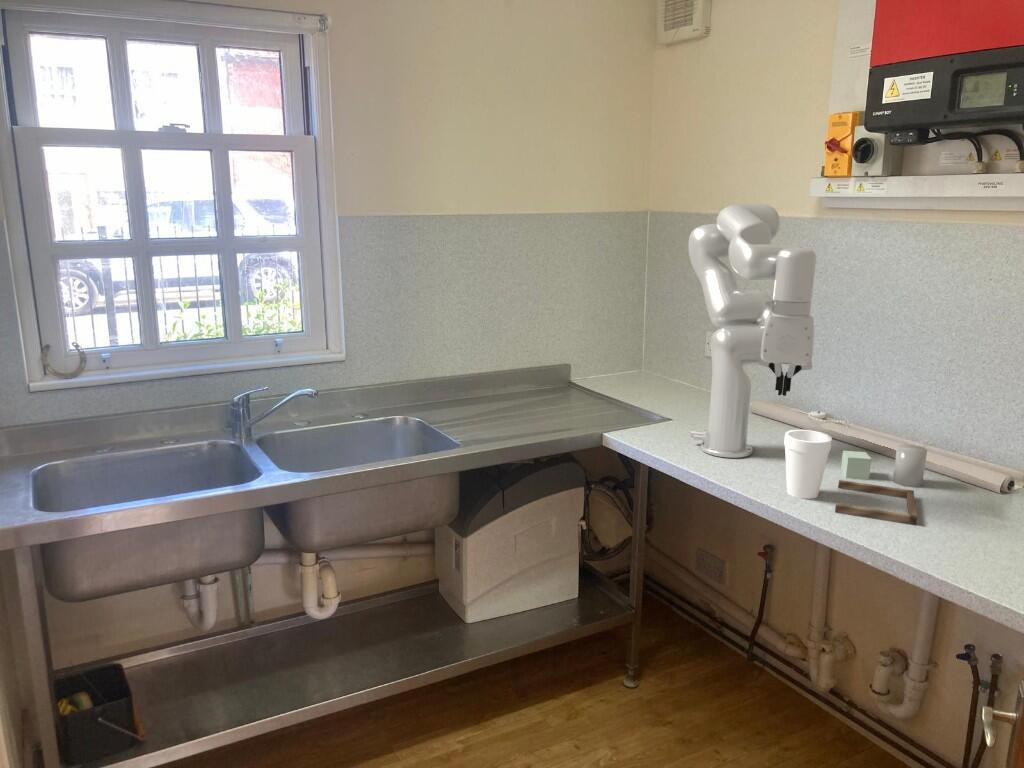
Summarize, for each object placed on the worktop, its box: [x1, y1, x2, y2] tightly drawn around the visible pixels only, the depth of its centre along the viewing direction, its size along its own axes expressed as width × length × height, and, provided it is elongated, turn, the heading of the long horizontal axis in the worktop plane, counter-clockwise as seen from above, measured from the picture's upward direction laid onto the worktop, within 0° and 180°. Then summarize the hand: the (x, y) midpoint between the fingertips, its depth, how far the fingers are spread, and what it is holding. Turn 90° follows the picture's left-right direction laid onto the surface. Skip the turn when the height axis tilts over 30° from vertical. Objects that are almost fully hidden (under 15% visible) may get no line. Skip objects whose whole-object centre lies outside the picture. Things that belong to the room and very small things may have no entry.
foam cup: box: [783, 429, 833, 500], centre depth 167 cm, size 10×9×13 cm
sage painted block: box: [840, 450, 872, 480], centre depth 180 cm, size 5×5×5 cm
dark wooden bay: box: [834, 479, 918, 526], centre depth 163 cm, size 15×16×2 cm
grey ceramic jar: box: [892, 444, 928, 488], centre depth 175 cm, size 6×6×8 cm
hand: (782, 393), depth 166 cm, fingers closed
